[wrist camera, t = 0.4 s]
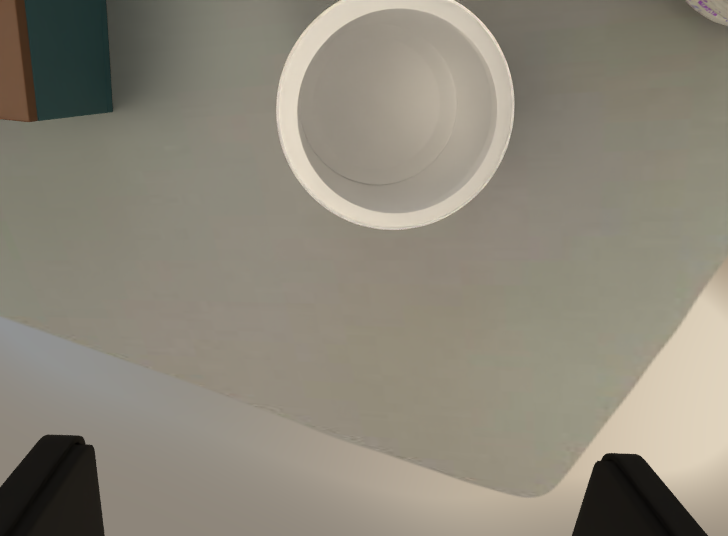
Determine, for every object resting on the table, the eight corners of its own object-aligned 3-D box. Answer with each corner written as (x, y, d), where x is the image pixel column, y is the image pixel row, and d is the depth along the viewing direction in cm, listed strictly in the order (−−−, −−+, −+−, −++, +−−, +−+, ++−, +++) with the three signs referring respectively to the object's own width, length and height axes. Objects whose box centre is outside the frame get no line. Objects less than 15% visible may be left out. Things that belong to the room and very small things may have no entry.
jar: (295, 171, 37) (272, 223, 23) (301, 17, 33) (279, -32, 19) (434, 182, 38) (495, 239, 24) (454, 34, 34) (540, -2, 20)
